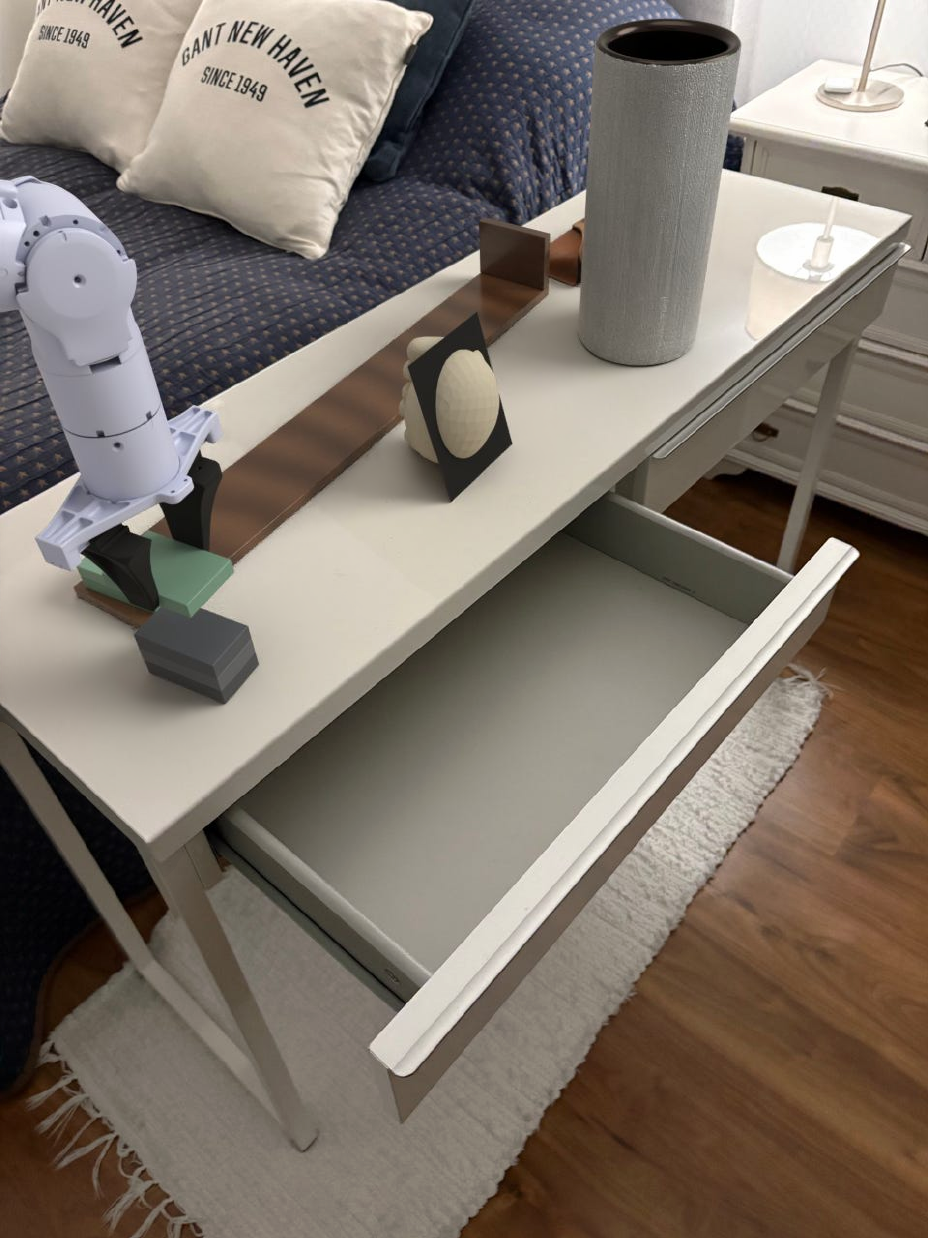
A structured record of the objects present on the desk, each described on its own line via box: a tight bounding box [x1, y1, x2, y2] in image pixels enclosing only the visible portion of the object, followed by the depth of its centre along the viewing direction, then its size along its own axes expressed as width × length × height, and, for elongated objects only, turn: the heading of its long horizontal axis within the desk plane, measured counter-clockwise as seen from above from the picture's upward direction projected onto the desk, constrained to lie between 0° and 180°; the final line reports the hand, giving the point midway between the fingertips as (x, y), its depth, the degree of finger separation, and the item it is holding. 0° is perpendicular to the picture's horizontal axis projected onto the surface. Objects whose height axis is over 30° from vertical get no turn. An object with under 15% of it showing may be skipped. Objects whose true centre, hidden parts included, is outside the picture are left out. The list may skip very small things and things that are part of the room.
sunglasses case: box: [549, 216, 585, 287], centre depth 114 cm, size 18×7×7 cm, turn 142°
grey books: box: [133, 607, 260, 705], centre depth 70 cm, size 4×7×4 cm, turn 63°
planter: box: [578, 18, 742, 366], centre depth 91 cm, size 12×12×28 cm
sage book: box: [102, 530, 235, 618], centre depth 65 cm, size 5×7×1 cm, turn 63°
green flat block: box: [76, 556, 161, 614], centre depth 76 cm, size 5×7×2 cm, turn 63°
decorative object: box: [399, 312, 513, 503], centre depth 84 cm, size 13×10×10 cm
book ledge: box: [73, 216, 551, 630], centre depth 90 cm, size 61×8×7 cm, turn 147°
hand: (170, 579), depth 65 cm, fingers closed on sage book, 5 cm apart
